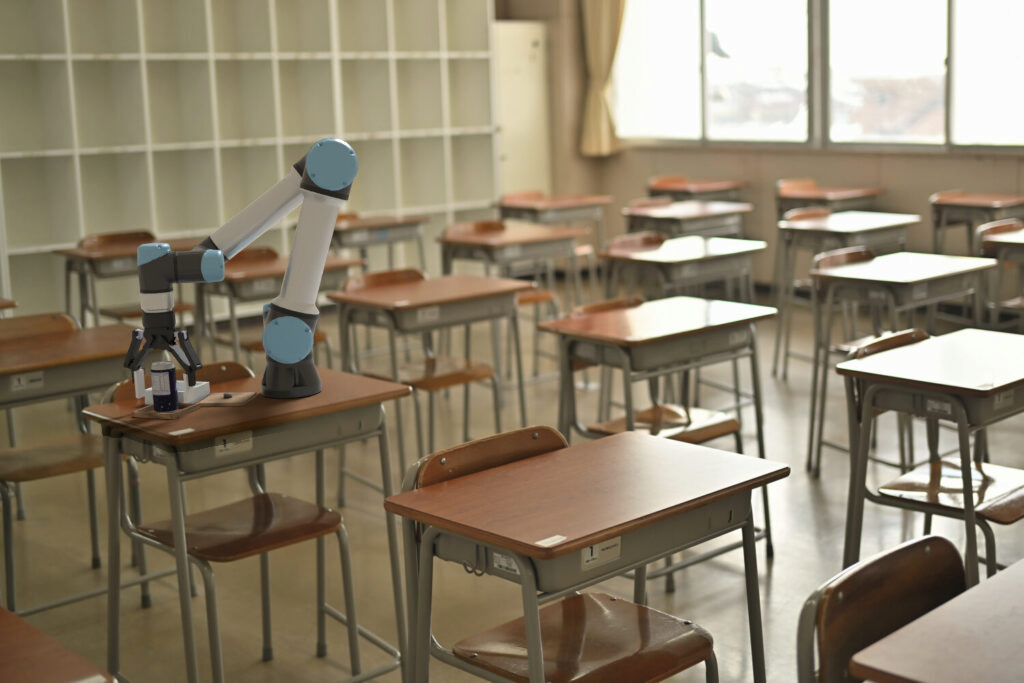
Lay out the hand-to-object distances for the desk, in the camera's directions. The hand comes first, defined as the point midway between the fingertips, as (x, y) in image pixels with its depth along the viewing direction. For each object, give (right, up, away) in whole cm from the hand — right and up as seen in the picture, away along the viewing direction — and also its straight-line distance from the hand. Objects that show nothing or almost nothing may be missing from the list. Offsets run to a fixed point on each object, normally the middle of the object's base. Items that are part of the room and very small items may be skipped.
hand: (165, 398), depth 280 cm
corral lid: (+12, -1, +11) cm, 17 cm away
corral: (0, -3, +1) cm, 3 cm away
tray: (-1, -1, +13) cm, 13 cm away
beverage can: (0, -4, +1) cm, 4 cm away
